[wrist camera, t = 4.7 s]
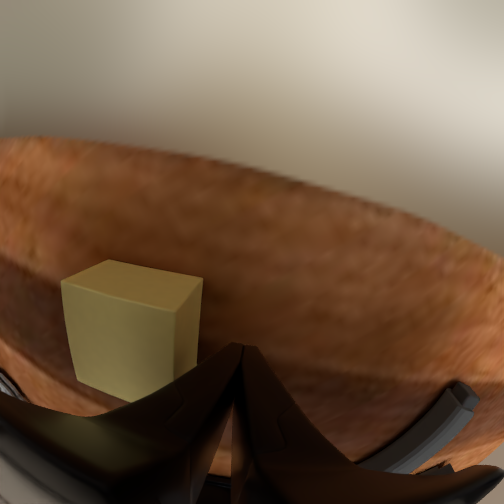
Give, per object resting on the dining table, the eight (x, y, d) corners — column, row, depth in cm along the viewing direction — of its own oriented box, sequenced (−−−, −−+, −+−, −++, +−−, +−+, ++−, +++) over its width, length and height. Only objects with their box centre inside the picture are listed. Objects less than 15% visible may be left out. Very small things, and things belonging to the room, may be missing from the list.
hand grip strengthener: (491, 388, 7) (197, 480, 9) (453, 486, 9) (271, 540, 11) (469, 367, 10) (206, 450, 12) (445, 469, 11) (272, 521, 13)
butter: (203, 277, 9) (175, 311, 6) (196, 368, 10) (175, 417, 7) (108, 258, 10) (59, 280, 7) (112, 344, 10) (77, 380, 7)
